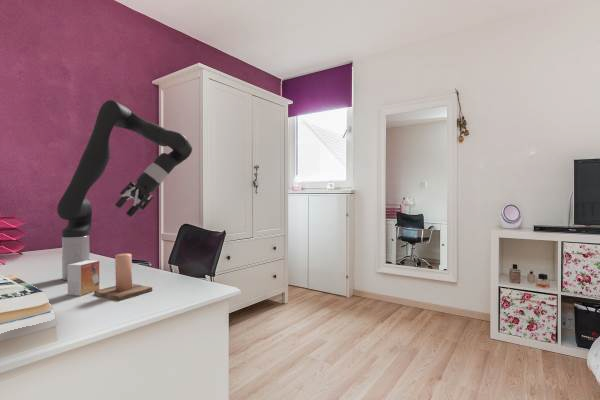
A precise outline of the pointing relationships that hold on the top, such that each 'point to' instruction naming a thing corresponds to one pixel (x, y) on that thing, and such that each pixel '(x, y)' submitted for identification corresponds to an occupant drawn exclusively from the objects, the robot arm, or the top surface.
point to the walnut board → (122, 292)
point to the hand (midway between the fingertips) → (122, 210)
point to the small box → (83, 277)
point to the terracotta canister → (123, 272)
